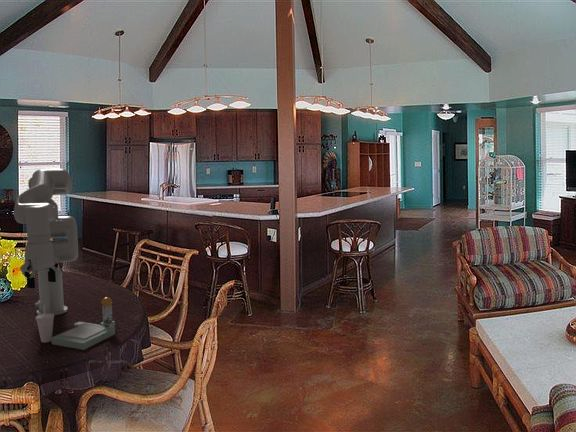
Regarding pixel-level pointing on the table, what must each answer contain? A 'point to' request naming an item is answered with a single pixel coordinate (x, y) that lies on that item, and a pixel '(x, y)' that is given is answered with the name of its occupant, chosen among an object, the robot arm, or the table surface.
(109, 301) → the lever
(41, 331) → the smoothie
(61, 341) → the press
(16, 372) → the table surface
